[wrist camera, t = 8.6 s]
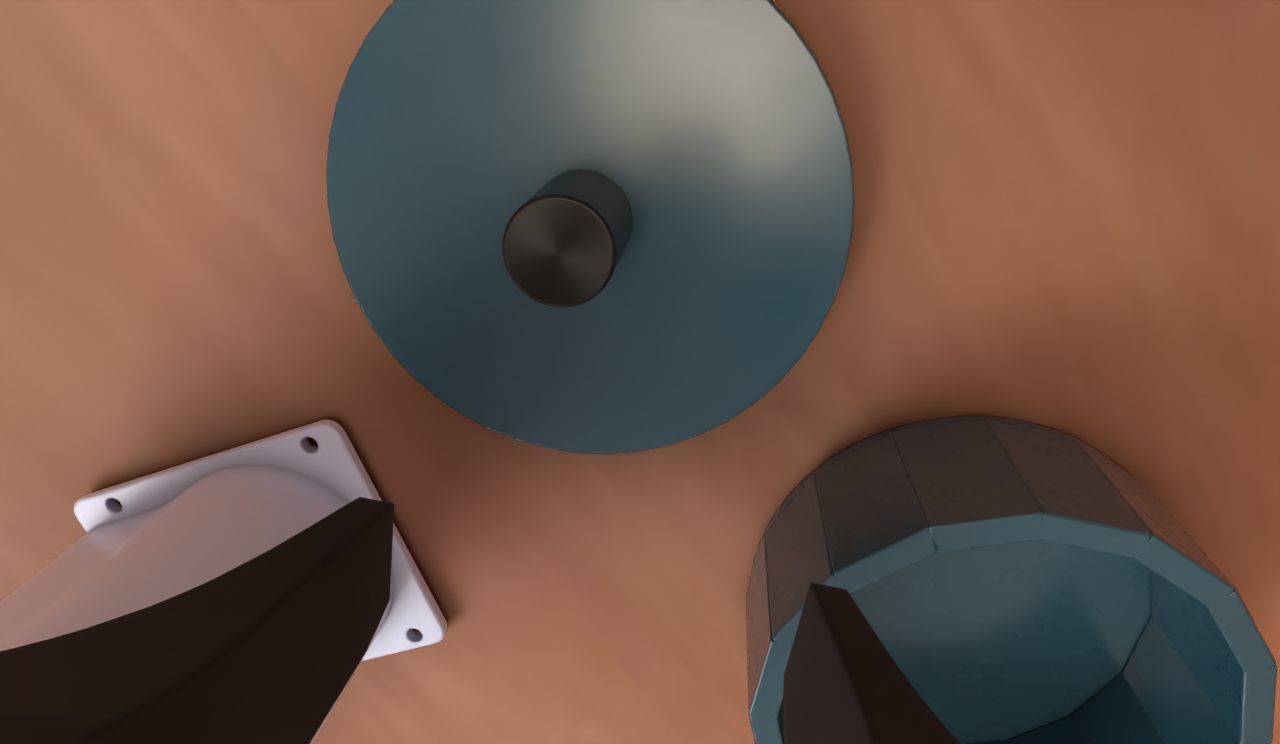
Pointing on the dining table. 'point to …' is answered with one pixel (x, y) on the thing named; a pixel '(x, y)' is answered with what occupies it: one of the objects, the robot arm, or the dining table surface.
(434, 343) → the tin lid
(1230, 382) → the dining table surface
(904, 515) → the tin
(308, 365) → the dining table surface
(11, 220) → the dining table surface
